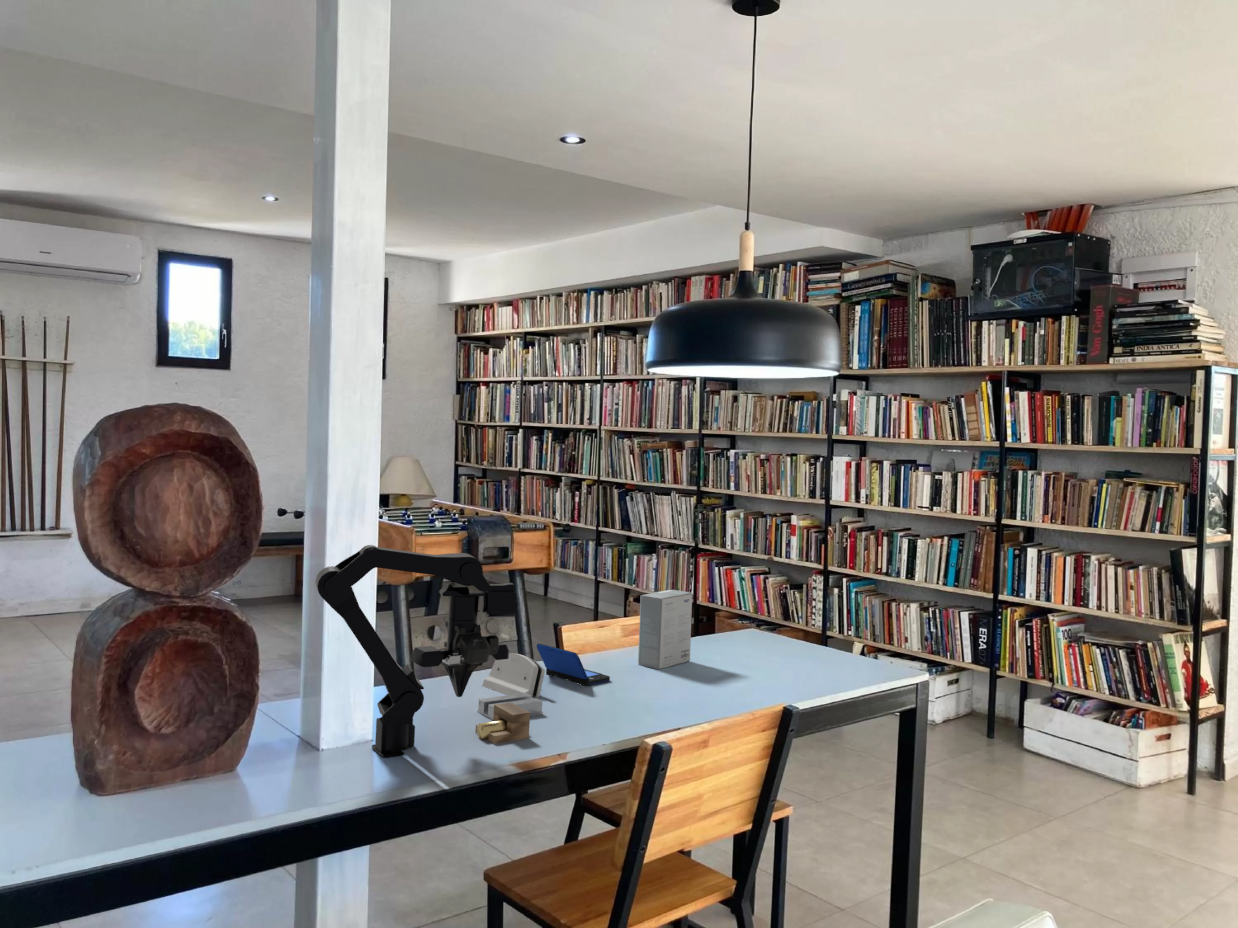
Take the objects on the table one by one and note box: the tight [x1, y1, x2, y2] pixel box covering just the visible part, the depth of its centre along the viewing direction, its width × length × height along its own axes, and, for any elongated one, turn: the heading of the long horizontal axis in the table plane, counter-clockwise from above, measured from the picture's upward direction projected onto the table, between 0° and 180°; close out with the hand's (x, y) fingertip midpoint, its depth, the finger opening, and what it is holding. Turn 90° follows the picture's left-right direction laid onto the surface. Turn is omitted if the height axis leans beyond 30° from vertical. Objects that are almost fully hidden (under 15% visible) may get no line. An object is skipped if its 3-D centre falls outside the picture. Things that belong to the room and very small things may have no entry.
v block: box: [477, 693, 544, 721], centre depth 204 cm, size 12×8×4 cm, turn 125°
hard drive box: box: [637, 589, 693, 670], centre depth 263 cm, size 16×8×20 cm, turn 141°
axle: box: [476, 720, 507, 740], centre depth 189 cm, size 10×3×3 cm, turn 125°
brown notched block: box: [475, 702, 531, 745], centre depth 189 cm, size 8×8×6 cm
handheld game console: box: [536, 643, 611, 687], centre depth 240 cm, size 16×13×9 cm
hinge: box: [482, 652, 546, 698], centre depth 226 cm, size 17×5×10 cm, turn 45°
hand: (458, 696), depth 183 cm, fingers closed
